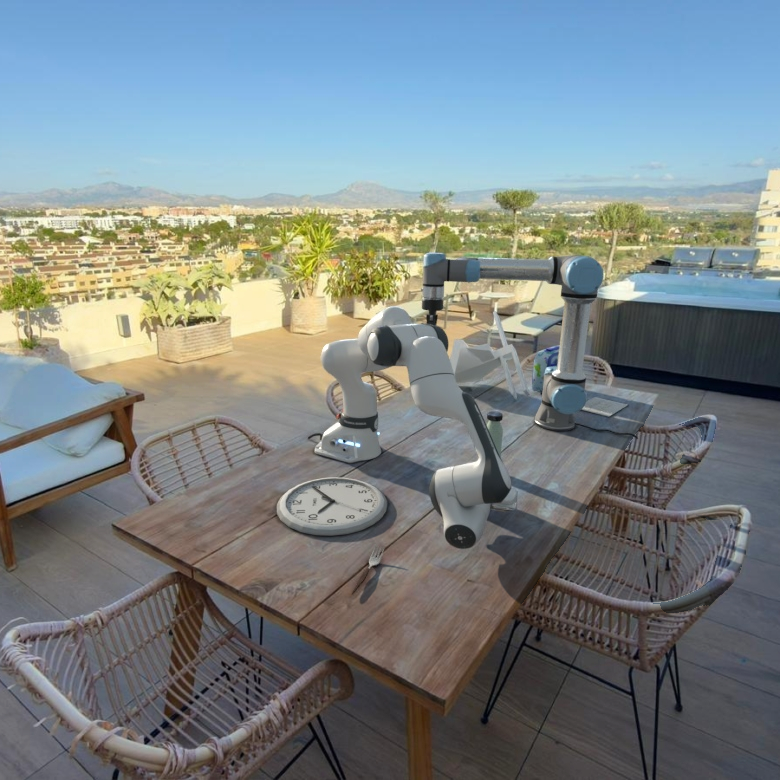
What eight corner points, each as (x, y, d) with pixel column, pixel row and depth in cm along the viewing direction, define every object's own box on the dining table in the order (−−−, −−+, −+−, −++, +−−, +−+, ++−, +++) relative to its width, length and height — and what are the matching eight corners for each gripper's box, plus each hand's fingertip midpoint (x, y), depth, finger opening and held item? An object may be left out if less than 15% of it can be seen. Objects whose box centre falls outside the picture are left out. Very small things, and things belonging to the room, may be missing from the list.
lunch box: (548, 398, 236) (553, 353, 229) (527, 393, 243) (531, 349, 237) (575, 387, 253) (581, 344, 247) (555, 382, 260) (560, 341, 254)
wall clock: (392, 527, 129) (268, 531, 127) (391, 533, 130) (269, 537, 127) (383, 473, 158) (282, 475, 155) (383, 478, 158) (282, 480, 156)
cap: (499, 422, 155) (500, 417, 155) (485, 419, 157) (485, 414, 157) (504, 417, 159) (504, 412, 159) (489, 415, 161) (490, 410, 161)
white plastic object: (461, 429, 252) (437, 405, 227) (444, 352, 274) (420, 323, 250) (535, 404, 240) (518, 377, 215) (510, 326, 262) (492, 293, 237)
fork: (346, 594, 108) (346, 586, 107) (374, 552, 122) (374, 544, 122) (357, 598, 107) (357, 589, 107) (385, 554, 121) (385, 547, 121)
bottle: (496, 478, 160) (501, 419, 154) (479, 474, 162) (483, 416, 157) (501, 471, 165) (506, 413, 159) (484, 467, 167) (489, 410, 161)
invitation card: (608, 416, 214) (573, 407, 224) (608, 416, 214) (573, 408, 224) (628, 404, 229) (594, 396, 238) (628, 405, 229) (594, 397, 238)
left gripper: (516, 500, 126) (521, 476, 139) (434, 486, 132) (446, 464, 145) (514, 523, 128) (519, 497, 140) (433, 508, 134) (445, 485, 147)
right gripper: (424, 293, 195) (422, 349, 202) (419, 302, 172) (417, 365, 178) (444, 294, 195) (441, 350, 201) (442, 303, 171) (439, 366, 177)
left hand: (481, 480), depth 143 cm, fingers open, 8 cm apart
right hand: (430, 357), depth 190 cm, fingers open, 13 cm apart
